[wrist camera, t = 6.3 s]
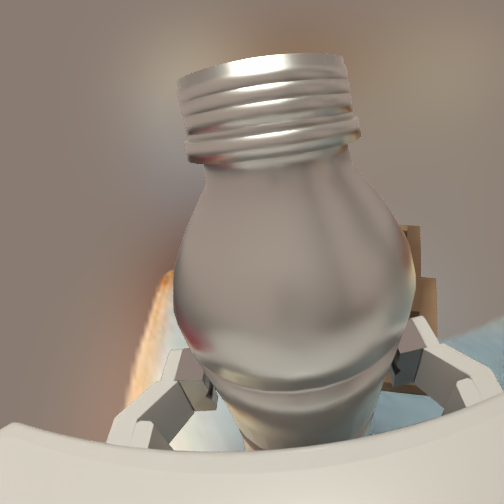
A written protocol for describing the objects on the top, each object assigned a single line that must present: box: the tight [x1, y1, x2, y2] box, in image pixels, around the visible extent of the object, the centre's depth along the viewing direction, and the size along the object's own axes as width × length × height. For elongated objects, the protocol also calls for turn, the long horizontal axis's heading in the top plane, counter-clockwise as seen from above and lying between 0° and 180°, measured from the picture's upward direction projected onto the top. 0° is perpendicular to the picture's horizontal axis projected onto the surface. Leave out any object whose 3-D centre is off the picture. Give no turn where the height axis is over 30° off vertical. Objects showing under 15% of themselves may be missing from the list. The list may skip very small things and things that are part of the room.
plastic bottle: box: [173, 53, 416, 451], centre depth 11 cm, size 6×7×20 cm
